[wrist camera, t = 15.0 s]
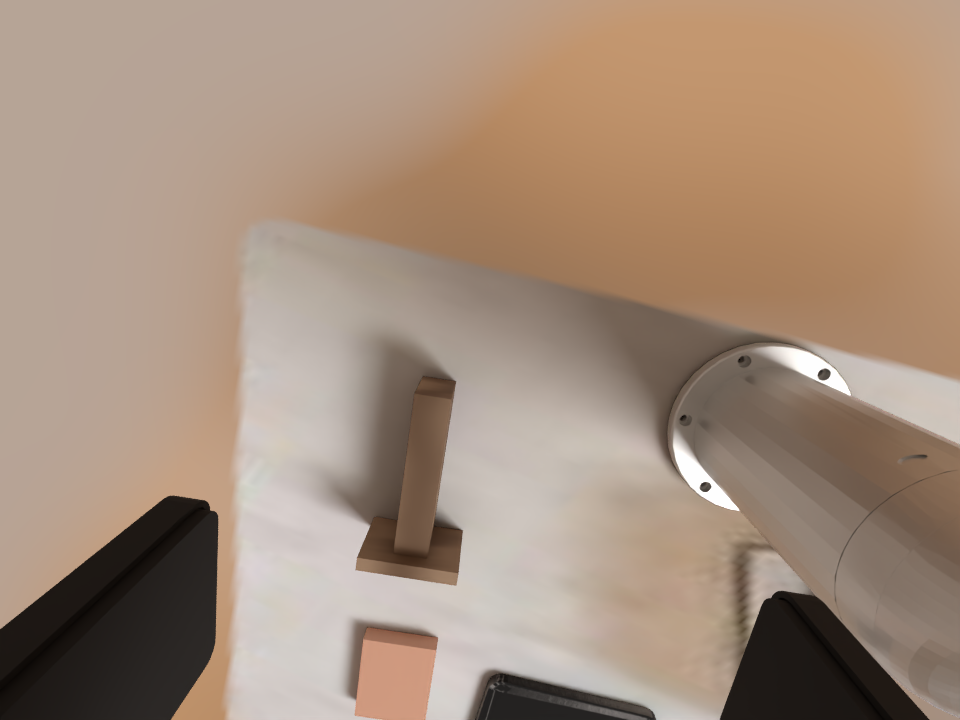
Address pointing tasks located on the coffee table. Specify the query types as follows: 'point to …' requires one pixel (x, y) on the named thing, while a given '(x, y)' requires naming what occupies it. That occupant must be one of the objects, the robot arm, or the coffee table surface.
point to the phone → (549, 703)
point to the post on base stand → (418, 500)
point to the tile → (395, 675)
